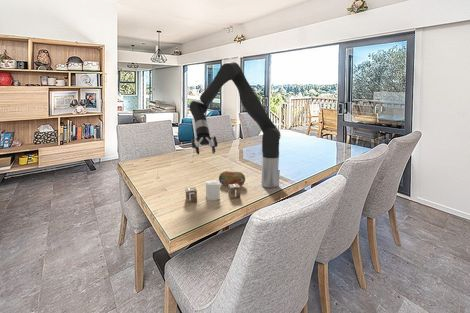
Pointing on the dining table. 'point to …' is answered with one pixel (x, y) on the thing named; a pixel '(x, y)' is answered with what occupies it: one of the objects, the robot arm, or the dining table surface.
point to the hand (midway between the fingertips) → (206, 153)
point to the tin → (231, 178)
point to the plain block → (212, 190)
